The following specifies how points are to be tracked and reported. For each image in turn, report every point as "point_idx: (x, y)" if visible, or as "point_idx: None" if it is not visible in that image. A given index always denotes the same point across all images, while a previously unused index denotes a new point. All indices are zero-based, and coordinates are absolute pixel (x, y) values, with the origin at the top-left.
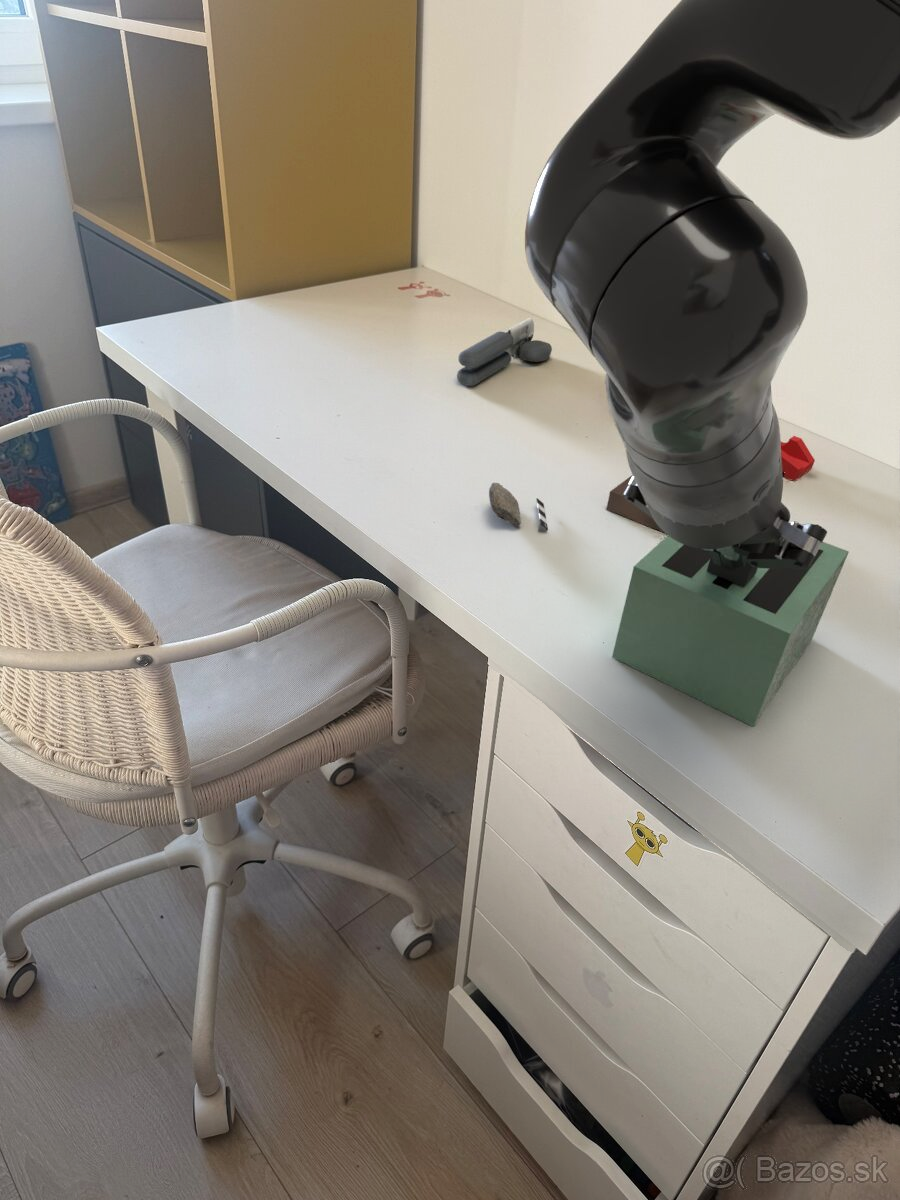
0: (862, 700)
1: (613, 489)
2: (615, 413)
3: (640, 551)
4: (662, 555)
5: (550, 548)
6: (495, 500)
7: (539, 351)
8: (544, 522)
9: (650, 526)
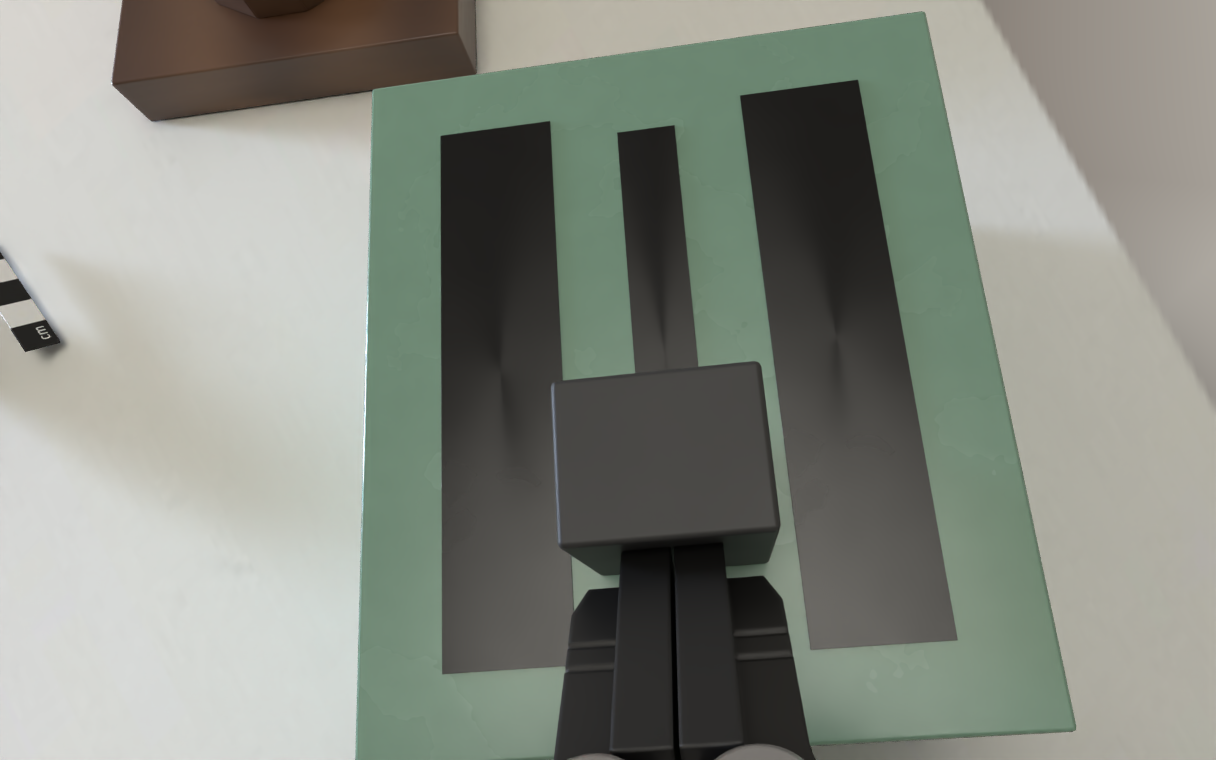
0: (1099, 356)
1: (114, 68)
2: None
3: (317, 219)
4: (410, 596)
5: (108, 402)
6: None
7: None
8: (33, 324)
9: (285, 100)
